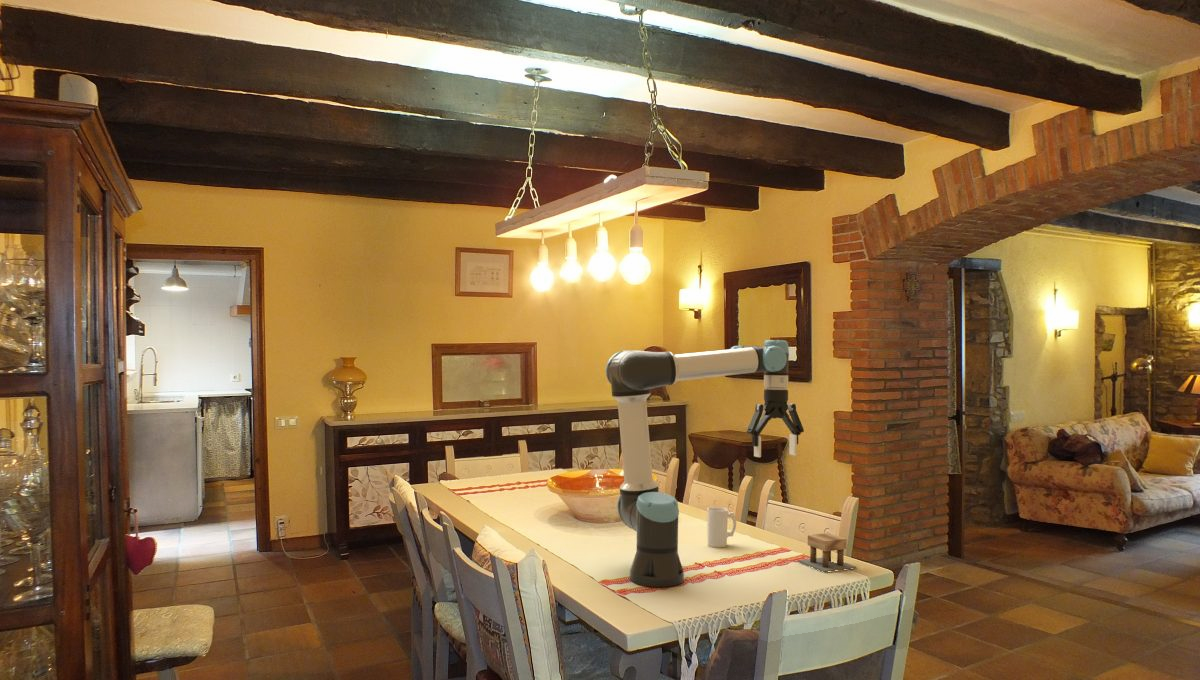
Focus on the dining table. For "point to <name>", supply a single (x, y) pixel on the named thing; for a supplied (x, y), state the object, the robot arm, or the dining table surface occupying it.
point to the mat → (831, 567)
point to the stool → (827, 547)
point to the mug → (719, 526)
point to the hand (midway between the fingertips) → (775, 456)
